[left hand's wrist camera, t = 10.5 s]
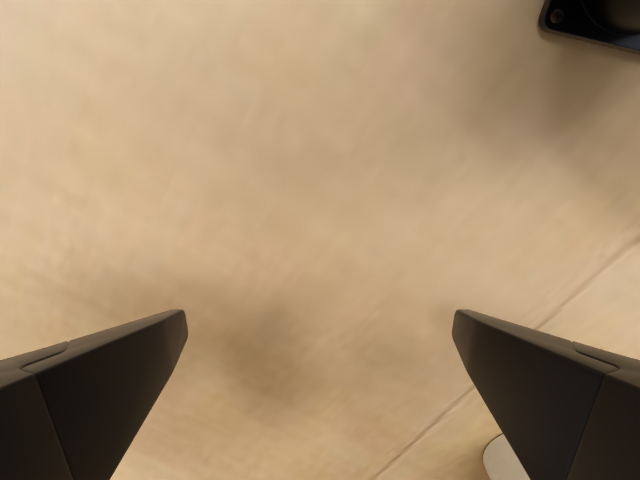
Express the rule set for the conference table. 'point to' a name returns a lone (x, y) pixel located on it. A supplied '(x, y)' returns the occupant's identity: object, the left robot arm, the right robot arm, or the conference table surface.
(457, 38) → the conference table surface
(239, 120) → the conference table surface
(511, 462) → the can
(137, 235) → the conference table surface
